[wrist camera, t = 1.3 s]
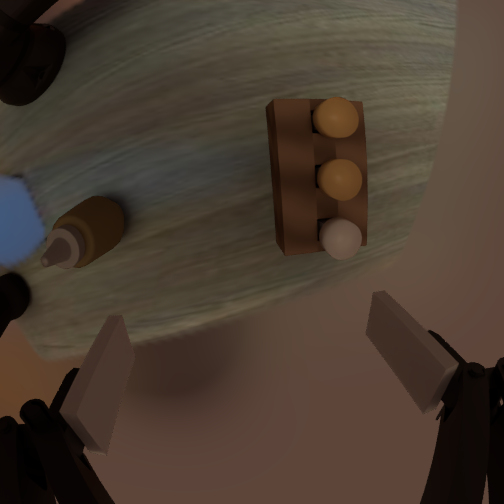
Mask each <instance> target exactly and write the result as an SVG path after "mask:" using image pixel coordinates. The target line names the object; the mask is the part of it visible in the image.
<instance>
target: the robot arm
mask: <svg viewBox="0 0 504 504" xmlns="http://www.w3.org/2000/svg"><path fill="white" fill-rule="evenodd" d="M57 1H58V0H0V100H1V101H3V102H4V103H6V104H8V105H15V106H22V105H26V104H28V103H30V102H32V101H34V100H35V99H36V98H38V97H39V96H40V95H41V94H42V93H43V92H44V91H45V90H46V89H47V88H48V87H49V85H50V84H51V83H52V81H53V80H54V78H55V76H56V75H57V73H58V71H59V69H60V67H61V64H62V61H63V58H64V54H65V38H64V35H63V34H62V32H61V31H60V30H58V29H57V28H55V27H54V26H52V25H49V24H38V23H34V22H35V21H36V20H37V19H38V18H39V17H40V16H41V15H42V14H43V13H44V12H45V11H47V10H48V9H49V8H50V7H51V6H52V5H54V4H55V3H56V2H57ZM366 335H367V336H368V338H369V339H370V340H371V342H372V343H373V344H374V346H375V347H376V349H377V350H378V351H379V353H380V354H381V355H382V357H383V358H384V359H385V361H386V362H387V363H388V365H389V366H390V368H391V369H392V370H393V372H394V373H395V375H396V376H397V377H398V379H399V380H400V381H401V383H402V384H403V386H404V387H405V389H406V390H407V392H408V393H409V394H410V396H411V397H412V399H413V400H414V402H415V403H416V404H417V406H418V407H419V409H420V410H421V412H422V413H423V414H425V413H427V412H429V411H432V410H434V409H436V407H437V406H438V404H439V402H440V400H442V401H443V403H444V406H443V407H442V409H441V411H440V412H439V414H438V416H437V418H436V420H438V419H439V417H440V416H441V419H440V425H439V432H438V437H437V442H436V447H435V452H434V456H433V460H432V464H431V468H430V472H429V476H428V479H427V483H426V486H425V490H424V493H423V496H422V499H421V502H420V504H482V500H483V494H484V488H485V482H486V475H487V478H488V490H489V491H488V492H489V504H504V357H503V358H500V359H499V360H498V362H497V364H496V366H495V367H492V368H486V369H485V368H484V366H482V365H480V364H479V363H475V362H470V363H467V362H466V361H465V360H464V359H463V358H462V357H461V356H460V355H459V354H458V353H457V352H456V351H455V350H454V349H453V348H452V347H450V345H449V344H448V343H447V342H445V340H444V339H443V338H442V337H441V336H440V335H439V334H437V333H435V332H433V331H431V330H429V331H427V330H426V329H424V328H423V327H422V326H421V325H420V324H419V323H418V322H417V321H416V320H415V319H414V318H413V317H412V316H411V315H410V314H409V313H408V312H407V311H406V310H405V309H404V308H403V307H402V306H401V305H400V304H398V303H397V302H396V301H395V300H394V299H393V298H392V297H391V296H390V295H389V294H388V293H386V292H385V291H379V292H373V295H372V302H371V307H370V313H369V319H368V324H367V329H366ZM134 359H135V355H134V352H133V349H132V346H131V343H130V340H129V337H128V333H127V330H126V327H125V324H124V320H123V317H122V315H115V316H108V318H107V320H106V322H105V323H104V325H103V327H102V329H101V330H100V332H99V334H98V336H97V338H96V339H95V341H94V343H93V345H92V347H91V348H90V350H89V352H88V354H87V356H86V358H85V360H84V362H83V364H82V365H81V368H73V369H72V370H71V371H70V372H69V373H68V374H66V376H65V378H64V380H63V382H62V384H61V386H60V388H59V391H57V393H56V395H55V397H54V399H53V401H52V403H51V405H50V408H48V407H47V405H46V404H45V402H44V401H42V400H40V399H32V400H29V401H27V402H26V403H25V404H24V405H23V406H22V407H21V410H20V417H21V419H22V420H23V421H24V423H25V424H18V423H17V422H16V421H15V419H14V418H12V417H11V416H5V417H2V418H0V504H56V500H55V497H56V499H57V501H58V503H59V504H115V503H114V501H113V500H112V499H111V497H110V496H109V494H108V492H107V491H106V490H105V488H104V486H103V485H102V483H101V482H100V480H99V478H98V477H97V475H96V473H95V472H94V470H93V468H92V466H91V465H90V463H89V461H88V459H87V457H86V456H85V454H84V453H83V449H84V446H86V447H87V449H88V450H89V451H90V452H91V453H95V454H100V455H107V452H108V448H109V444H110V440H111V436H112V433H113V429H114V425H115V422H116V418H117V414H118V411H119V407H120V404H121V400H122V397H123V394H124V391H125V387H126V384H127V381H128V378H129V374H130V372H131V369H132V365H133V362H134ZM501 399H502V400H503V405H502V406H501V404H500V400H501ZM54 495H55V496H54Z"/></svg>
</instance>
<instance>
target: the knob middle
mask: <svg viewBox="0 0 504 504" xmlns="http://www.w3.org/2000/svg"><path fill="white" fill-rule="evenodd" d="M315 179H316V183H317V184H318V185H319V187H320V189H321V191H322V192H323V193H324V194H326V195H327V196H330V197H332V198H334V199H337V200H340V201H346V200H350V199H352V198H353V197H355V196H356V195H357V194H358V192H359V190H360V188H361V185H362V175H361V172H360V170H359V168H358V167H357V165H356V164H355V163H353V162H352V161H349V160H346V159H330V160H327V161H326V162H324V163H323V164H322V165H321V167H315Z"/></svg>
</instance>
